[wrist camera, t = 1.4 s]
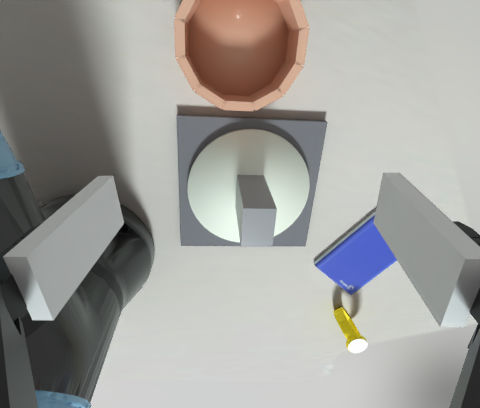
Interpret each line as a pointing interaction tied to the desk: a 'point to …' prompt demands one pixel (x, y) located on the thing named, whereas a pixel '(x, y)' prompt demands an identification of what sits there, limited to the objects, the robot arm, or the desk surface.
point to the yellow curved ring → (350, 332)
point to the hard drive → (357, 257)
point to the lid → (248, 186)
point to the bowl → (241, 49)
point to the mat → (211, 127)
